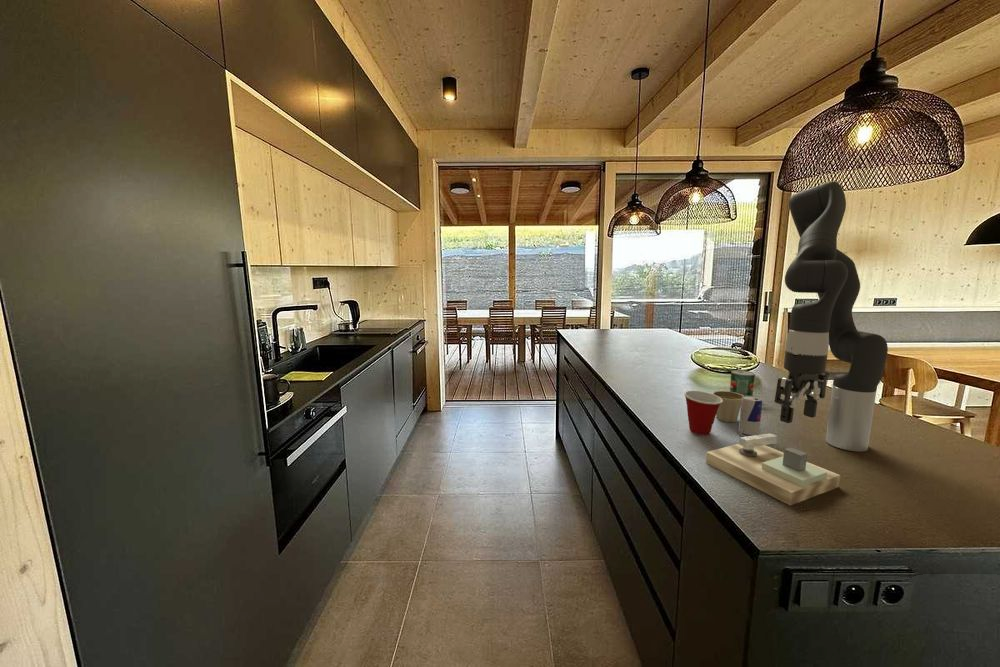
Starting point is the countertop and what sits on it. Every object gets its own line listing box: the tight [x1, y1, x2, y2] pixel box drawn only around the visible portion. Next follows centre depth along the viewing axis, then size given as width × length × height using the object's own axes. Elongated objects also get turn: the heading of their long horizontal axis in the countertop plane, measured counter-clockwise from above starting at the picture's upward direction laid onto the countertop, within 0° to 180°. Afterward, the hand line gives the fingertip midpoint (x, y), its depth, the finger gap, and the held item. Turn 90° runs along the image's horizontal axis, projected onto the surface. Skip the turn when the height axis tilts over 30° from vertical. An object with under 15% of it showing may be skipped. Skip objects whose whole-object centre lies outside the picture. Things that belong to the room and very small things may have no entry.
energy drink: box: [738, 395, 763, 437], centre depth 119 cm, size 5×5×12 cm
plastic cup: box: [684, 390, 723, 436], centre depth 122 cm, size 11×11×12 cm
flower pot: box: [712, 390, 743, 423], centre depth 133 cm, size 9×9×9 cm
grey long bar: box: [738, 432, 778, 453], centre depth 102 cm, size 2×10×4 cm, turn 105°
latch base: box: [705, 443, 841, 506], centre depth 97 cm, size 18×21×4 cm
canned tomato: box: [729, 369, 756, 396], centre depth 153 cm, size 8×8×11 cm
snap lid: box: [762, 447, 827, 487], centre depth 92 cm, size 9×9×6 cm
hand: (797, 419), depth 90 cm, fingers open, 8 cm apart
